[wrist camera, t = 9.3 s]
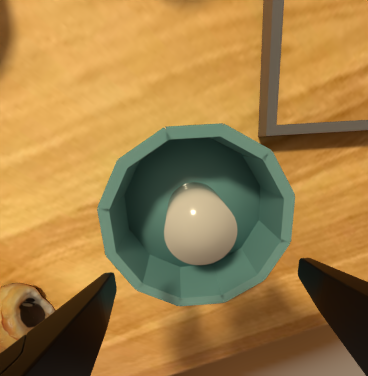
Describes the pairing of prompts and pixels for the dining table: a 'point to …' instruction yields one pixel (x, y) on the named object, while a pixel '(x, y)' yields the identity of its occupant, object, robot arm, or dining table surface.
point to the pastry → (20, 312)
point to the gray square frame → (271, 82)
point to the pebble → (198, 225)
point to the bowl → (224, 187)
